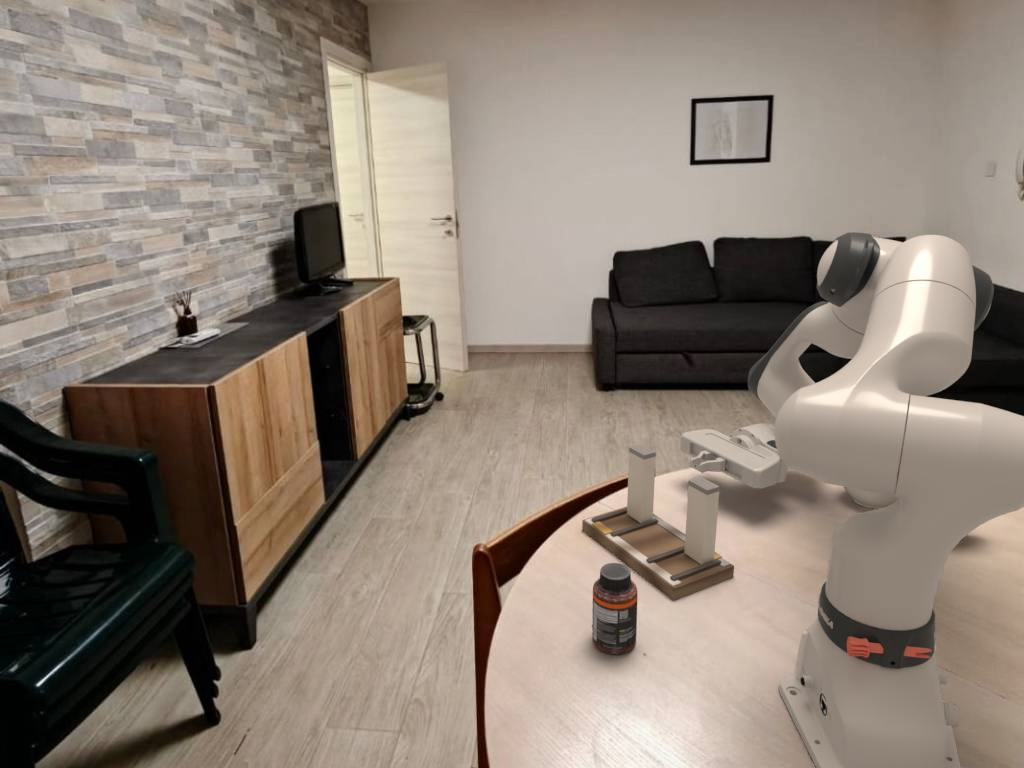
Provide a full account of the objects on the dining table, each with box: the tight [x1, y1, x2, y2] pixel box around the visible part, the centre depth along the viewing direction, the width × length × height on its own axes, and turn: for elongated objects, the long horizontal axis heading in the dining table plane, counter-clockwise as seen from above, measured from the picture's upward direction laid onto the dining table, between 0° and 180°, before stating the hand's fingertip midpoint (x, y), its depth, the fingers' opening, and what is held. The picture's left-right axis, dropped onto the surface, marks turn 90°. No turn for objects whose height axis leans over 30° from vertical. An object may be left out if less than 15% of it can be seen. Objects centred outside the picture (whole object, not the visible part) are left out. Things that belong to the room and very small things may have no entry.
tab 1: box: [626, 443, 657, 523], centre depth 126 cm, size 4×2×13 cm, turn 29°
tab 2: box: [684, 476, 720, 565], centre depth 113 cm, size 4×2×13 cm, turn 29°
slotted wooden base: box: [581, 506, 735, 601], centre depth 120 cm, size 24×12×3 cm, turn 29°
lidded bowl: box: [842, 473, 900, 510], centre depth 135 cm, size 13×13×11 cm
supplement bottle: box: [591, 562, 638, 655], centre depth 98 cm, size 6×6×11 cm
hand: (695, 466), depth 131 cm, fingers closed
